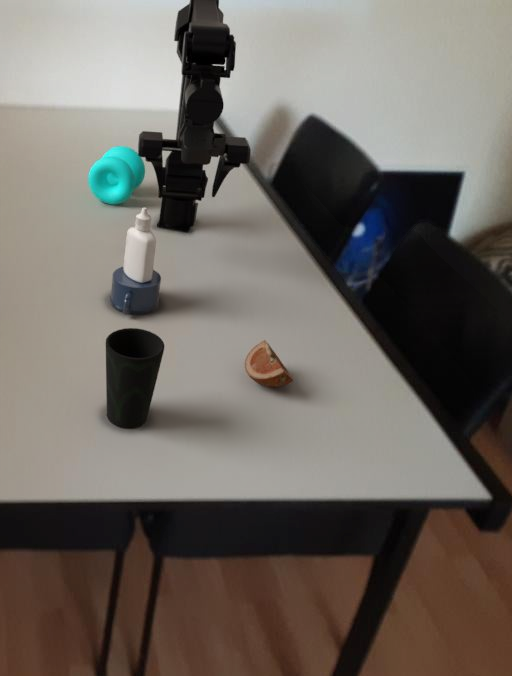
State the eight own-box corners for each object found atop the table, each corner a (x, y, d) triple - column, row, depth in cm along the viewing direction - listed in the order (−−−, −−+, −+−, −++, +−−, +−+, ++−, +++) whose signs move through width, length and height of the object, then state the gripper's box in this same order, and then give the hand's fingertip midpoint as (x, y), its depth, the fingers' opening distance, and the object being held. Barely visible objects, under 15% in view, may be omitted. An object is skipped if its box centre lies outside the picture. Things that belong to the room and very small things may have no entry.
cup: (95, 400, 120) (102, 328, 113) (149, 399, 121) (158, 327, 114) (103, 434, 114) (110, 359, 107) (159, 432, 114) (169, 358, 108)
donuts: (85, 201, 178) (88, 155, 173) (100, 185, 186) (104, 140, 180) (130, 210, 175) (134, 163, 170) (144, 193, 183) (149, 148, 177)
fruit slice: (298, 398, 122) (305, 369, 119) (253, 400, 122) (259, 371, 119) (278, 366, 129) (285, 338, 126) (236, 367, 128) (241, 339, 125)
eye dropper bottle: (148, 268, 143) (155, 201, 136) (152, 284, 139) (160, 215, 132) (122, 267, 143) (128, 200, 136) (125, 283, 138) (132, 215, 132)
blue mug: (117, 287, 148) (119, 261, 145) (163, 296, 146) (167, 270, 143) (100, 314, 140) (102, 287, 137) (149, 324, 138) (152, 297, 135)
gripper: (143, 117, 135) (134, 209, 144) (261, 124, 134) (244, 216, 143) (142, 96, 144) (134, 184, 153) (253, 103, 143) (238, 191, 152)
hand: (186, 194), depth 150 cm, fingers open, 9 cm apart
